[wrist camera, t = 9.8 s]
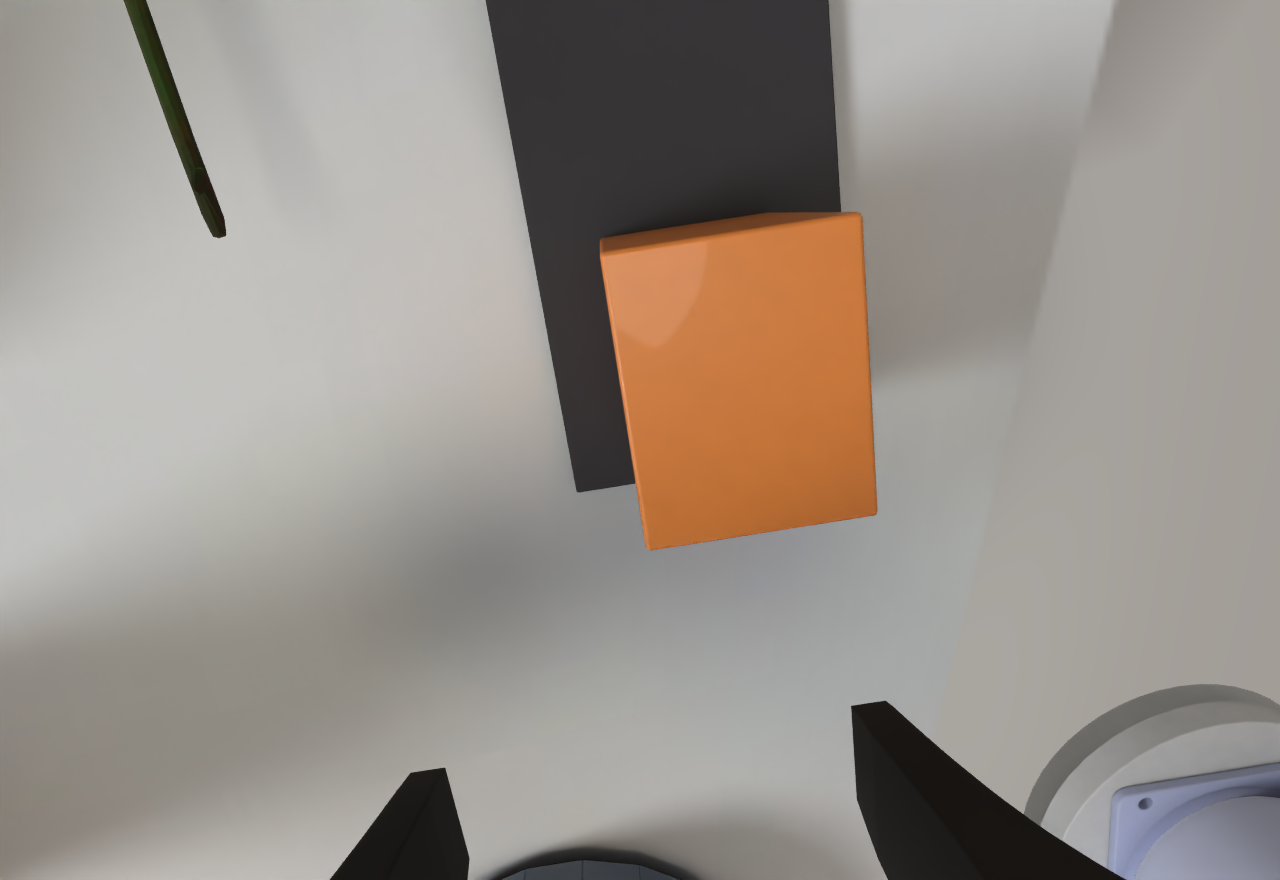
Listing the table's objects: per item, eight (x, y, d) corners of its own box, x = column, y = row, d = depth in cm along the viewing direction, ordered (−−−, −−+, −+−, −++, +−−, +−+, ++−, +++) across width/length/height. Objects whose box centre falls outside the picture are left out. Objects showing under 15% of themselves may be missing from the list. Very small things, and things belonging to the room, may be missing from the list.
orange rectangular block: (769, 211, 19) (864, 210, 12) (787, 416, 20) (879, 516, 14) (599, 238, 19) (599, 251, 12) (631, 441, 20) (646, 553, 14)
